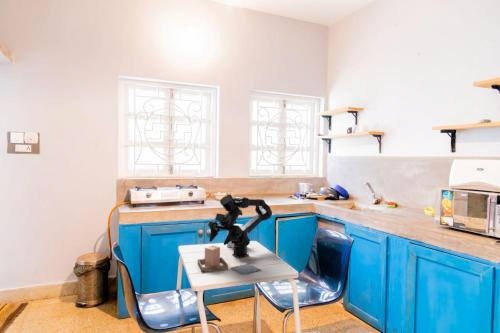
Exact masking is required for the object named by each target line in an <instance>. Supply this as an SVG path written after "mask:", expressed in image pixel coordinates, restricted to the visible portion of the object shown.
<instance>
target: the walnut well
mask: <svg viewBox="0 0 500 333" xmlns="http://www.w3.org/2000/svg"><path fill="white" fill-rule="evenodd" d="M220 263H221V264H222V265H221V264H220V266H209V267H205V266H203V264H205V258H201V259H200V258H198V259H197V265H198V268H199V269H200V272H201V273H205V272H206V273H207V272H214V271H225V270H226V271H227V270H229V264H228V263H227V262H226V261H225V259H224V258H223V257H222V256H220Z"/></svg>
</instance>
